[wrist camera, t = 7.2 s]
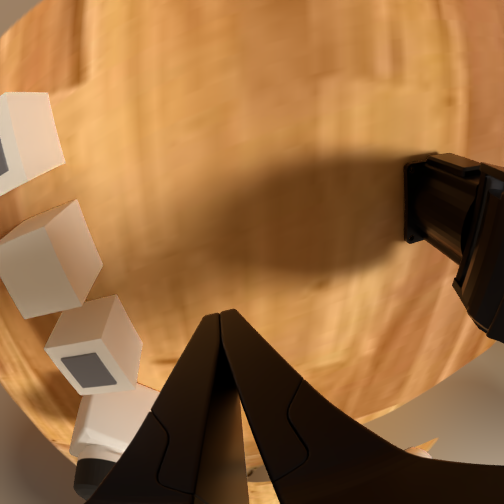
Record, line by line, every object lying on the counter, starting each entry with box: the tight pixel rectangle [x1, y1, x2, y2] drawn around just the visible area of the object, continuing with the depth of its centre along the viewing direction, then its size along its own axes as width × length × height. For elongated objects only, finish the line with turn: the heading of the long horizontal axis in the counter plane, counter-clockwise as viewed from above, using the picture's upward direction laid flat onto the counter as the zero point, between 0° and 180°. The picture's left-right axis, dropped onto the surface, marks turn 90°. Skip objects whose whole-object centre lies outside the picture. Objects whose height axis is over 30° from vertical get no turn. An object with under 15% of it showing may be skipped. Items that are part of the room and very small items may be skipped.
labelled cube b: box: [0, 92, 66, 196], centre depth 12 cm, size 5×5×5 cm
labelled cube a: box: [44, 294, 143, 395], centre depth 19 cm, size 5×5×5 cm
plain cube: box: [0, 199, 103, 319], centre depth 16 cm, size 5×5×5 cm
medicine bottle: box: [69, 383, 160, 501], centre depth 20 cm, size 7×7×12 cm
